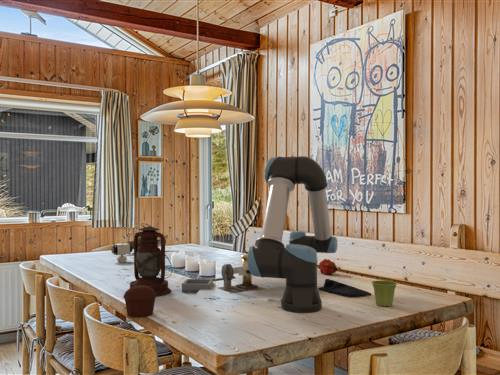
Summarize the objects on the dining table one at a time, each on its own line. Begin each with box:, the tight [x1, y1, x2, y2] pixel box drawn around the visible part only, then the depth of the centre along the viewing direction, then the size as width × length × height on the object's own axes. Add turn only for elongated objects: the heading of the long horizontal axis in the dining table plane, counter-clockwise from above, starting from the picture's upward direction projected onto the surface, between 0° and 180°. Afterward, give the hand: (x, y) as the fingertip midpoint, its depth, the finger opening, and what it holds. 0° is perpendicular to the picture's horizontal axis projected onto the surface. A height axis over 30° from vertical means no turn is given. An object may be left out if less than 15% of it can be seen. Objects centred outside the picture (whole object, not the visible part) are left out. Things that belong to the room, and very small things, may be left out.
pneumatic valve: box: [110, 241, 134, 263], centre depth 296 cm, size 6×12×12 cm, turn 125°
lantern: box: [129, 222, 173, 298], centre depth 211 cm, size 19×19×30 cm
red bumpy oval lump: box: [317, 258, 338, 276], centre depth 254 cm, size 8×8×12 cm
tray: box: [181, 278, 214, 293], centre depth 217 cm, size 12×12×4 cm
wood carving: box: [123, 234, 169, 250], centre depth 341 cm, size 9×35×11 cm, turn 132°
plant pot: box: [371, 279, 398, 307], centre depth 188 cm, size 9×9×9 cm
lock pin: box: [240, 254, 253, 287], centre depth 214 cm, size 5×5×14 cm
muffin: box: [122, 285, 157, 319], centre depth 174 cm, size 12×11×10 cm
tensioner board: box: [217, 263, 266, 294], centre depth 212 cm, size 13×17×12 cm
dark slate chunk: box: [317, 278, 372, 298], centre depth 211 cm, size 15×22×5 cm
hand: (236, 271), depth 211 cm, fingers closed on lock pin, 4 cm apart
